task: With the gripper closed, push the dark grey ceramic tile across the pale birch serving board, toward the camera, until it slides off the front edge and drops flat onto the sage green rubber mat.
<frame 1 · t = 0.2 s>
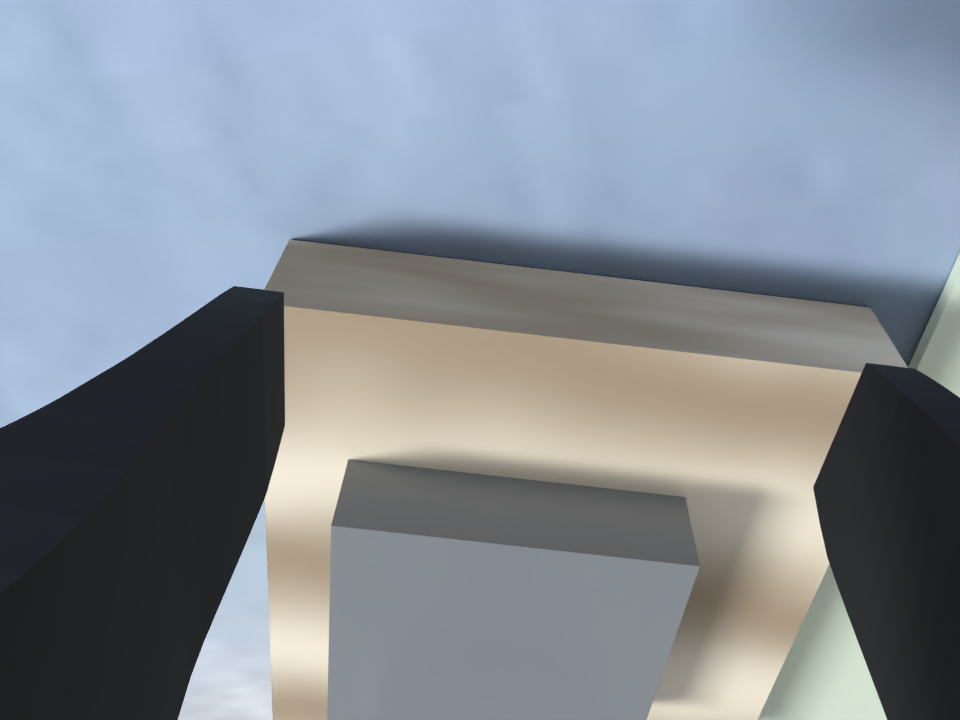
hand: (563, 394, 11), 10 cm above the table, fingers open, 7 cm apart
board: (535, 517, 26), on the table
tile: (497, 593, 23), point 3 cm above the table, touching board
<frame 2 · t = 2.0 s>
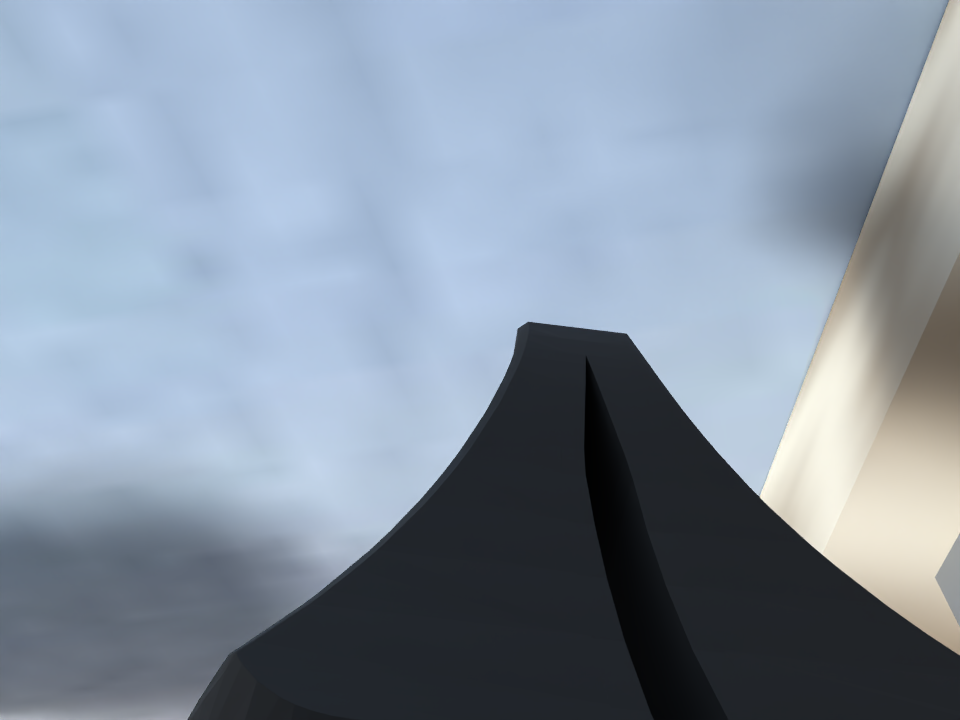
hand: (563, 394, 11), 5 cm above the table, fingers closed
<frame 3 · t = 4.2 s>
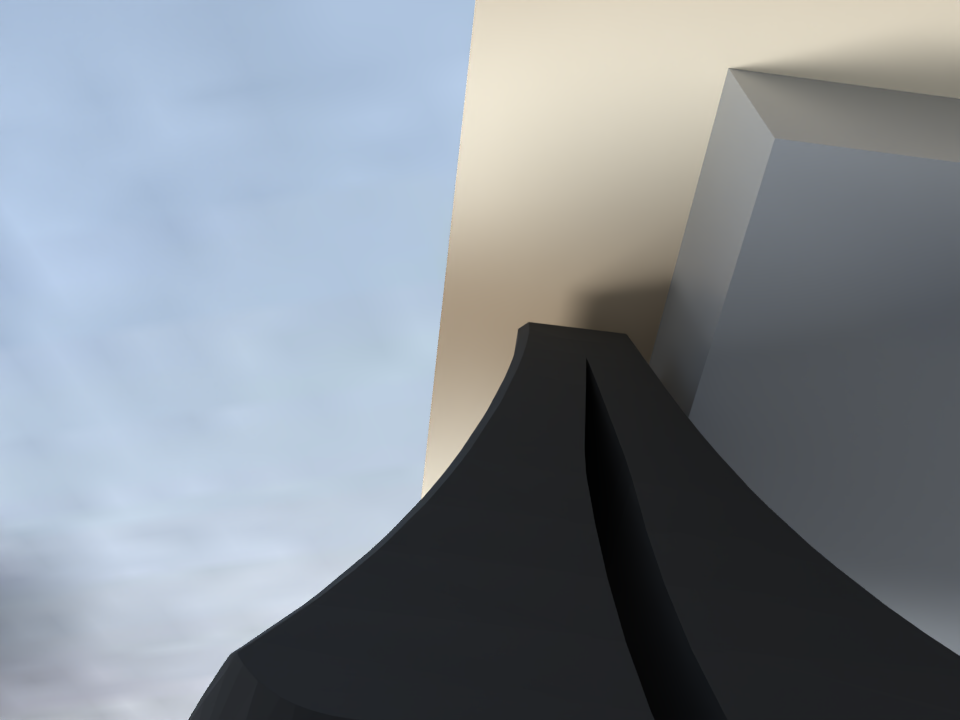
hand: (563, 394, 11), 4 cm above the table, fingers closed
board: (884, 300, 14), on the table
tile: (943, 409, 12), point 3 cm above the table, touching board
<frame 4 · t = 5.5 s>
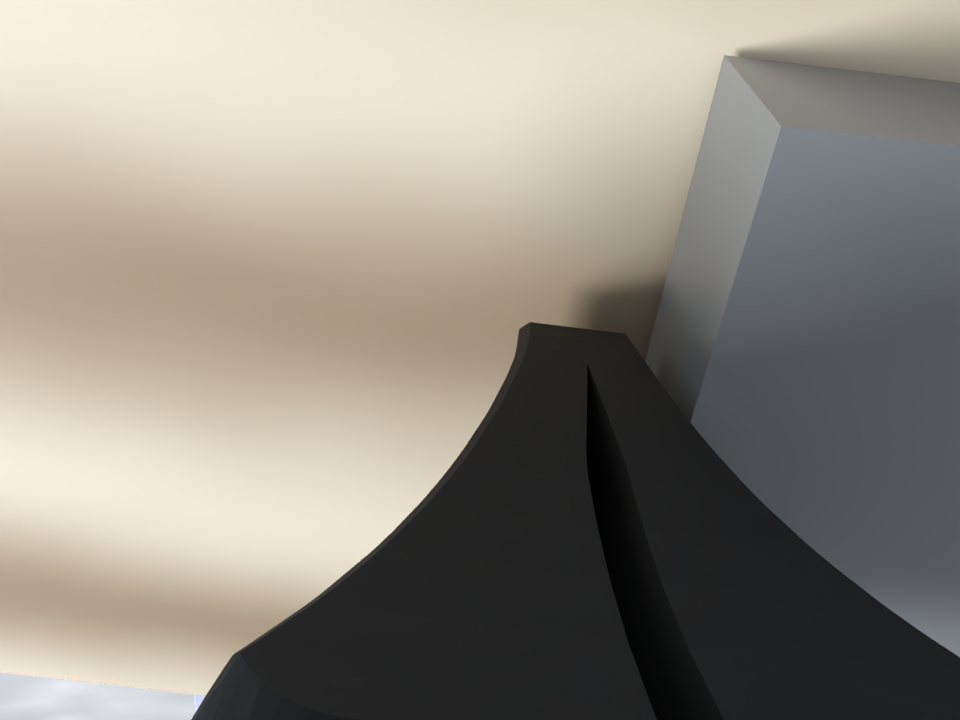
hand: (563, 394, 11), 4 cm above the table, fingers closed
board: (413, 241, 14), on the table
tile: (940, 396, 12), point 3 cm above the table, touching gripper
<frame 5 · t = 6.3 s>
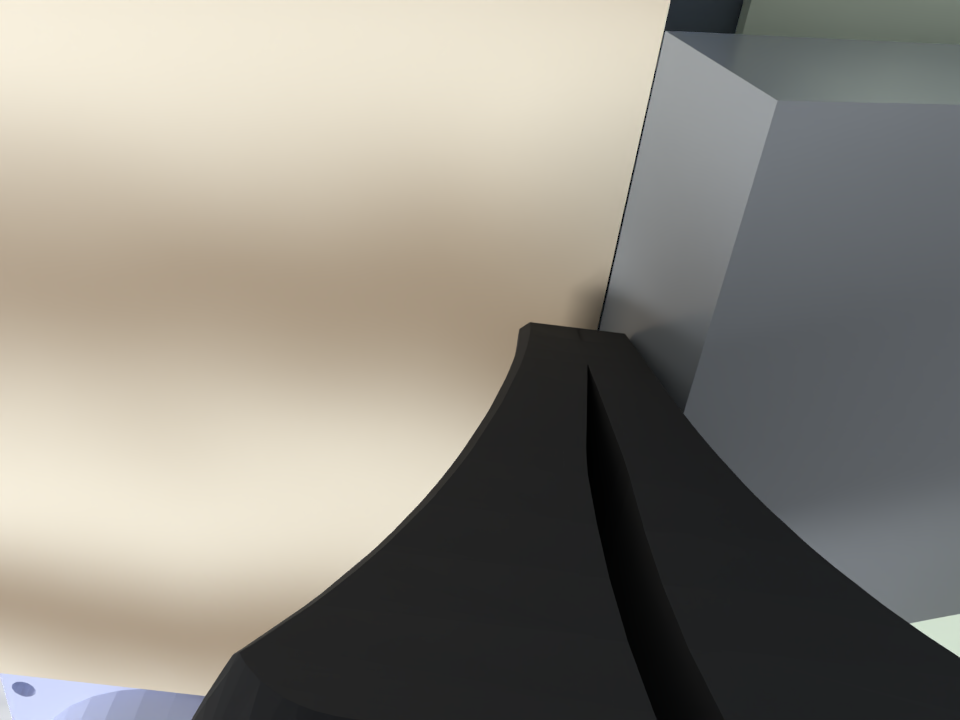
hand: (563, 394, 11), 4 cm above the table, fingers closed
board: (139, 208, 14), on the table
tile: (850, 329, 13), point 2 cm above the table, tilted 19°, touching gripper, mat
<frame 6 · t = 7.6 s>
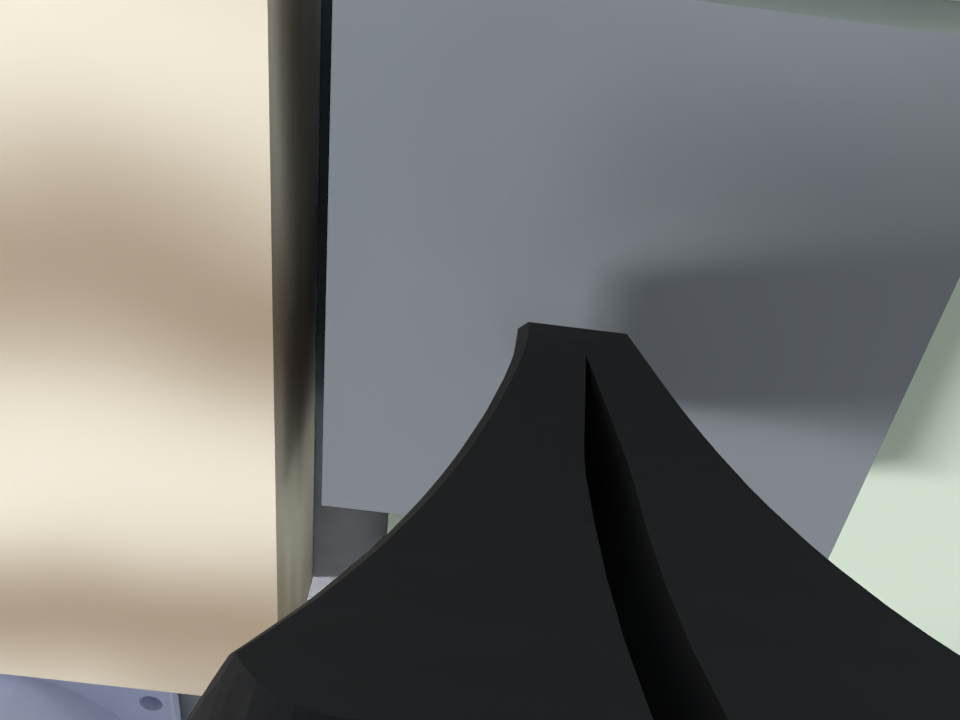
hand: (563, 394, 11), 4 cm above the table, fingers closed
mat: (843, 295, 14), on the table
tile: (614, 243, 14), resting on mat
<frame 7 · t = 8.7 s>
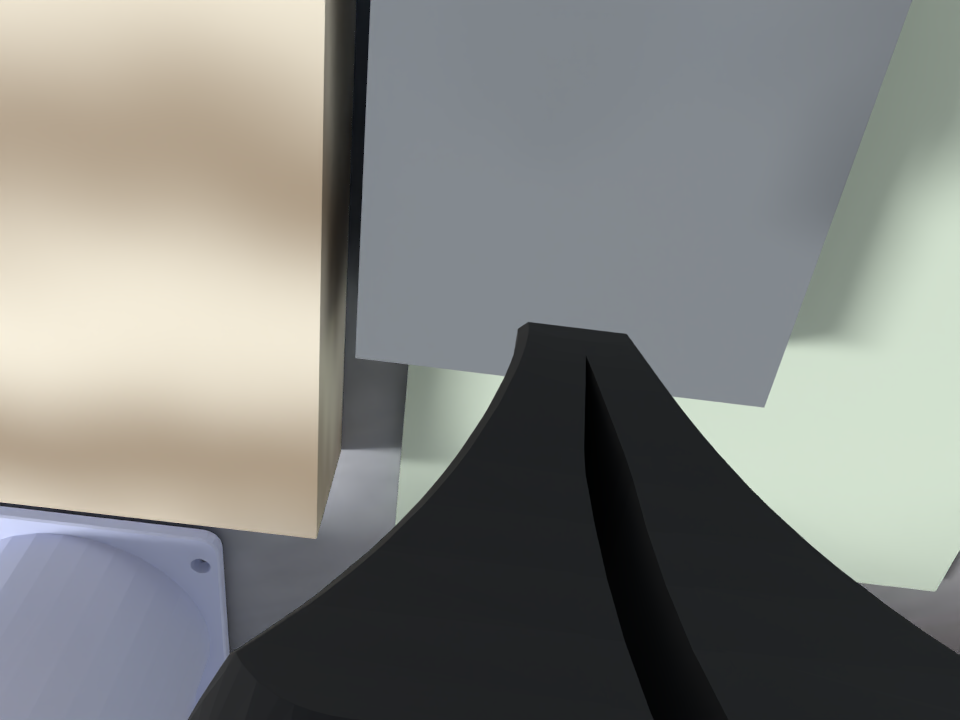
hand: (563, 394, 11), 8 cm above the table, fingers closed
mat: (780, 191, 18), on the table
tile: (592, 145, 17), resting on mat
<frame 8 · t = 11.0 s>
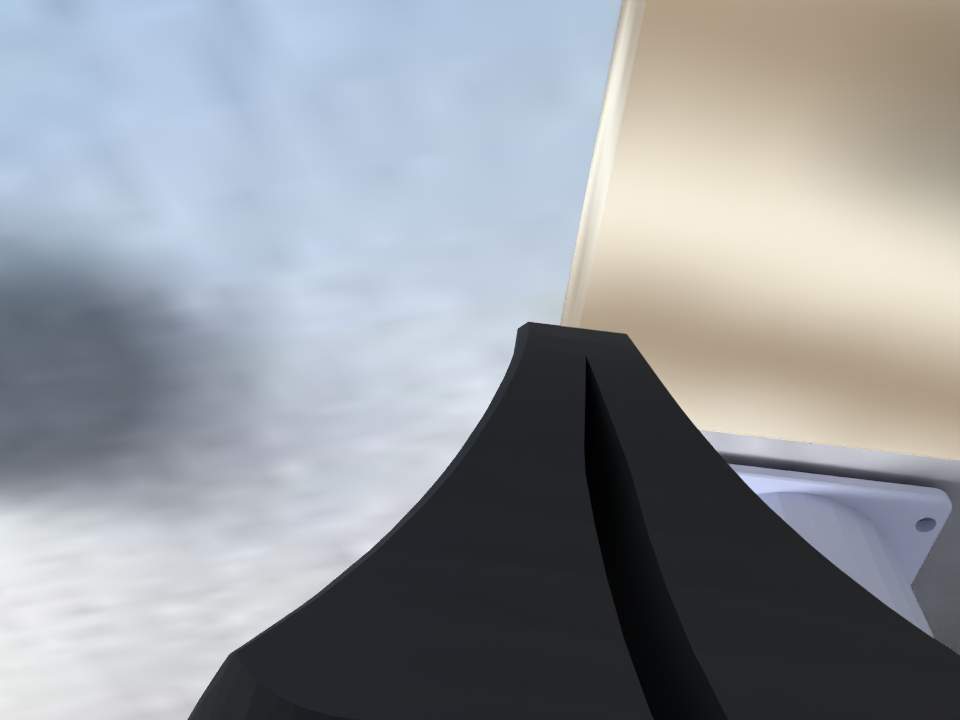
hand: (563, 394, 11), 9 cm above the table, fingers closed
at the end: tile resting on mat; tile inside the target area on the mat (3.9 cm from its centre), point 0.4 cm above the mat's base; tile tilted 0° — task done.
